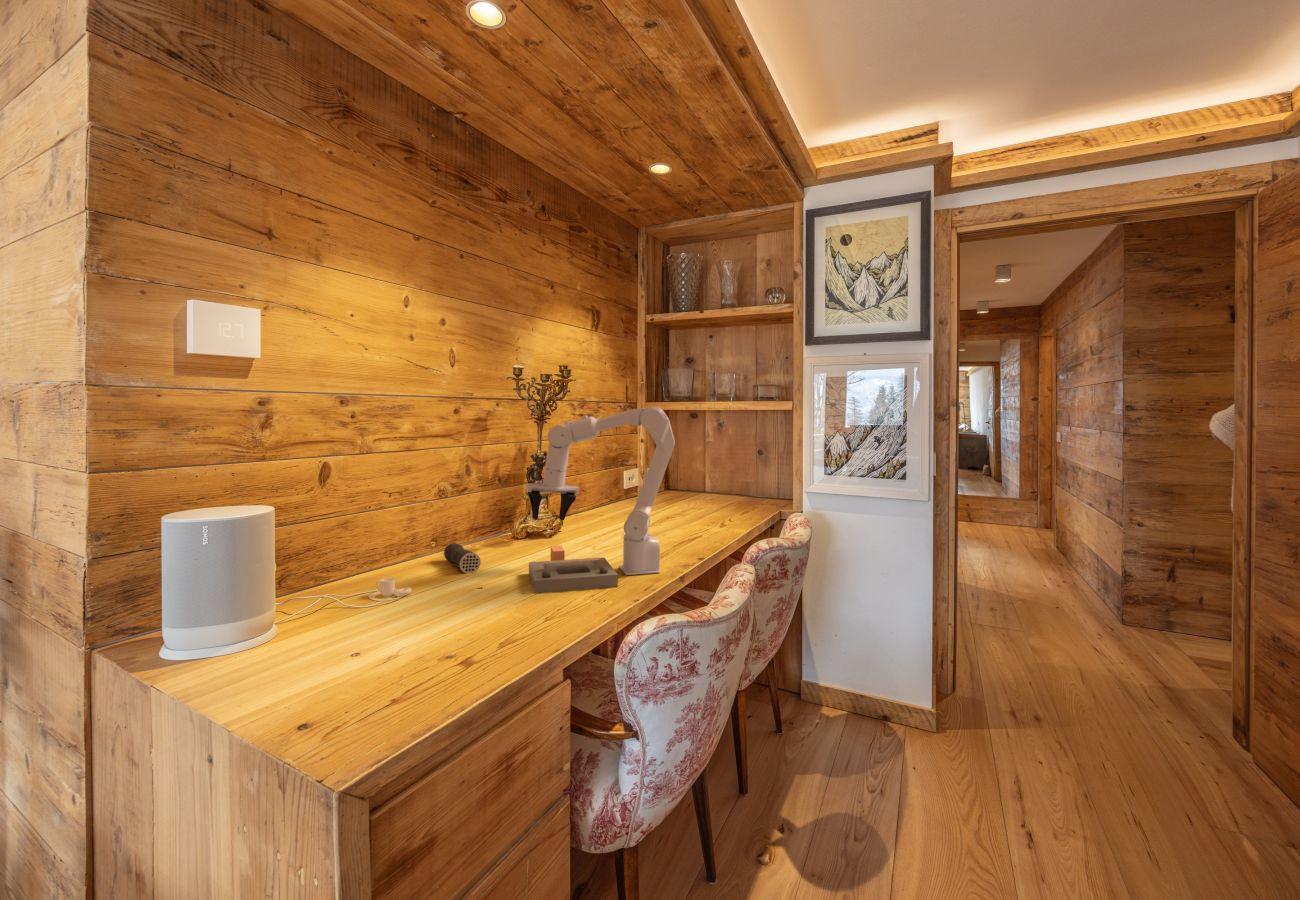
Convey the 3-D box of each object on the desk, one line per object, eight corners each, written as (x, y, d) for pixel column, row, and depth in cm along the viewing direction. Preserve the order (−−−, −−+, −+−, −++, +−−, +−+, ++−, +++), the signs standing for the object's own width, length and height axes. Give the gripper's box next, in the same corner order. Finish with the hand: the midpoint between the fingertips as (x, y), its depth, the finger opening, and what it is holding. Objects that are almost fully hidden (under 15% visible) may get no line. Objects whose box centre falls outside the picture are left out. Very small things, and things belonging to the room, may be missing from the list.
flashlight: (442, 561, 159) (441, 542, 158) (461, 559, 162) (461, 540, 161) (460, 575, 146) (460, 554, 146) (480, 571, 150) (480, 551, 149)
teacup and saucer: (417, 595, 132) (417, 577, 131) (388, 605, 125) (388, 587, 124) (390, 589, 135) (390, 572, 135) (361, 599, 128) (360, 581, 128)
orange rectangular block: (561, 562, 158) (561, 545, 158) (564, 568, 153) (564, 550, 152) (550, 563, 158) (550, 545, 157) (553, 569, 152) (553, 551, 152)
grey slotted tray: (604, 568, 154) (604, 550, 153) (617, 586, 138) (617, 566, 138) (529, 573, 148) (529, 554, 148) (534, 593, 133) (534, 572, 132)
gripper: (574, 468, 159) (567, 515, 160) (524, 464, 151) (517, 514, 152) (585, 473, 153) (577, 522, 154) (533, 469, 145) (526, 521, 146)
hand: (548, 519), depth 153 cm, fingers open, 7 cm apart
